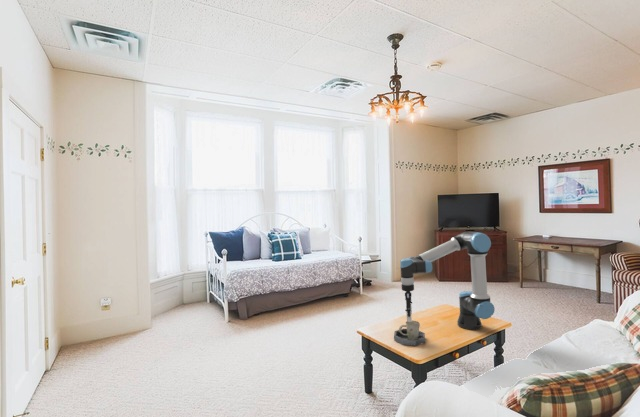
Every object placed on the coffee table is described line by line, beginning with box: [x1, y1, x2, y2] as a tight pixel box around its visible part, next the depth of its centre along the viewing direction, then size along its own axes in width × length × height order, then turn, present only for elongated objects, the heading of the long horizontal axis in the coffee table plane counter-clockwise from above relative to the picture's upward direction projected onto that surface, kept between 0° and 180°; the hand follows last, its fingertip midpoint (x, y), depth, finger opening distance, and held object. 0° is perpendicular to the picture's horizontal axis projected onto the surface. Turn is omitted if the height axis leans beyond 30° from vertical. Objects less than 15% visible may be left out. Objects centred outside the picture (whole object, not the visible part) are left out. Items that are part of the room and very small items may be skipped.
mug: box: [398, 320, 420, 340], centre depth 208 cm, size 8×13×10 cm, turn 79°
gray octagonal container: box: [393, 328, 426, 347], centre depth 208 cm, size 18×18×3 cm
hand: (409, 317), depth 208 cm, fingers open, 13 cm apart
